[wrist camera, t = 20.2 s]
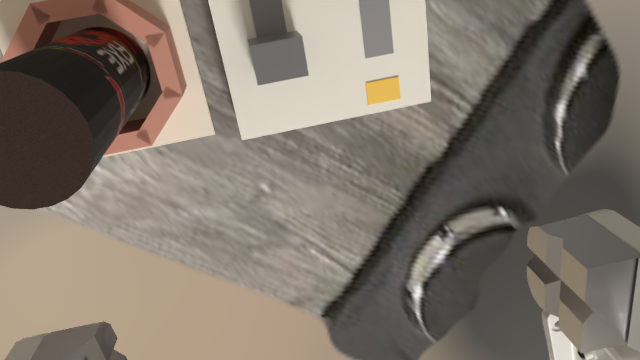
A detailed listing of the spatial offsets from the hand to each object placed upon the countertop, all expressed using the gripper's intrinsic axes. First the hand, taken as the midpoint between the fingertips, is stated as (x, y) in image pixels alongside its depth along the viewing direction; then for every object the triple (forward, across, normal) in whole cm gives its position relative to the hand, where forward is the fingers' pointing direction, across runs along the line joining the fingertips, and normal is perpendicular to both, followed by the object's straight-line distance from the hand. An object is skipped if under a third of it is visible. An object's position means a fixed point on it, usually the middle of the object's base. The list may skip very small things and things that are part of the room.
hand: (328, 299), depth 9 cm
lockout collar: (+28, +11, -2) cm, 30 cm away
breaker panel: (+28, -4, -3) cm, 29 cm away
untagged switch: (+25, 0, -1) cm, 25 cm away
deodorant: (+28, +11, -2) cm, 30 cm away
